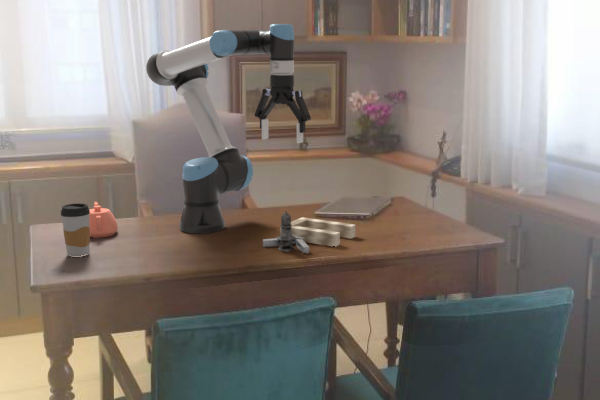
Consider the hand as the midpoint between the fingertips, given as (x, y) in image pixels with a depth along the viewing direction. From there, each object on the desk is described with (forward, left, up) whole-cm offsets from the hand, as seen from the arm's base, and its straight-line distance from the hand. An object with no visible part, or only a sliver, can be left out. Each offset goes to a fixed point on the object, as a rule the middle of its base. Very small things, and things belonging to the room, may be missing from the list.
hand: (282, 141), depth 239 cm
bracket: (+13, 0, -30) cm, 33 cm away
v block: (+11, -13, -30) cm, 35 cm away
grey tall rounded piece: (+11, -16, -31) cm, 36 cm away
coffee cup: (-40, -52, -31) cm, 72 cm away
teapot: (-53, -31, -31) cm, 69 cm away
